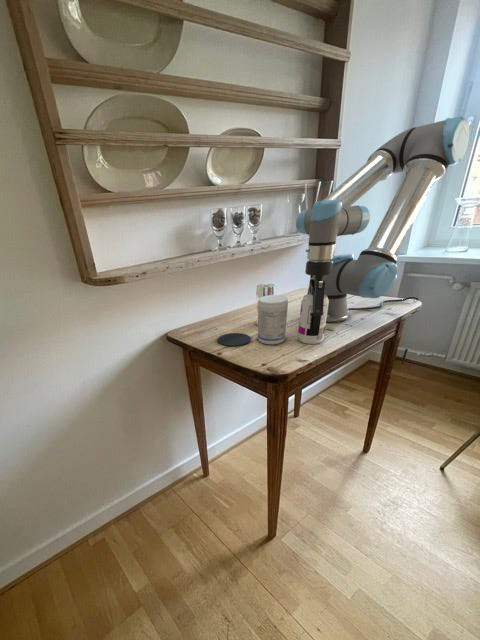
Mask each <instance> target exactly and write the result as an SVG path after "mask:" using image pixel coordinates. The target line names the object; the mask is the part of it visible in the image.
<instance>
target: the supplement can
mask: <svg viewBox="0 0 480 640" xmlns="http://www.w3.org/2000/svg"><path fill="white" fill-rule="evenodd" d="M328 304H329V300H328V297H327V295H325V294H324V305H323V315H321V321H320V328H319V335H309V331H310V323H311V316H310V313H313V296H312V295H311V294H304V296H303V298H302V299H301V301H300V311H299V322H298V331H297V339H298V341H299V342H301V343H303V344H307V345H316V344H320V343H321V342H323V341H324V338H325V332H326V331H325V330H326V326H327V325H326V324H327V322H326V318H327V311H328ZM317 311H319V310H317Z"/></svg>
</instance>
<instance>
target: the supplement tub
mask: <svg viewBox="0 0 480 640" xmlns="http://www.w3.org/2000/svg"><path fill="white" fill-rule="evenodd" d="M288 300H289V298H288V297H287V296H285V295H282V294H281V295H280V294H274V295H268V296H263V297H261V298H260V299H259V303H258V312H257V318H258V325H257V341H258V342H260V343H261V344H265V345H278V344H281V343H283V342H284V341H285V340H286V335H287V334H286V332H287V320H288V305H289V302H288Z"/></svg>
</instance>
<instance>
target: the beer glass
mask: <svg viewBox="0 0 480 640" xmlns="http://www.w3.org/2000/svg"><path fill="white" fill-rule="evenodd" d="M255 291H256V292H255V304H256V305H255V306H256V311H257V313H258V303H259V299H260V298H261V297H263V296H268V295H275V284H273V283H260V284H257V285H256V290H255ZM256 325H257V326H258V317H257V319H256Z"/></svg>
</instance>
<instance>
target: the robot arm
mask: <svg viewBox="0 0 480 640" xmlns="http://www.w3.org/2000/svg"><path fill="white" fill-rule="evenodd" d="M469 141H470V124H469V122H468V120H467V118H465V117H464V116H456V117H451V118H450V117H447V118H445V120H439V121H436V122H431V123H428V124H423V125H420V126H415V127H410V128H408V129H405V130H404V131H402V132H400V133H398V134H396V135H395V136H394V137H392V138H390V139H389V140H388V141H386V142H385V143H383V144H382V145H381V146H380V147H378V148H377V149H375V151H374V152H373V153H371V154H370V156H369V157H368V158H367V160H366V163H364V164H363V165H362V166H361V167H360V168H358V169H357V170H356V171H354V173H352V174H351V175H350V176H349V177H348V178H347V179H346V180H345V181H343V182H342V183H341V184H340V185H339V186H338V187H337V188H335V189H334V190H333V191H332V192H331V193H329V194H328V195H327V196H325V198H323V199H322V200H321V201H320V200H318V201H316V202H314V204H313V205H312V208H307V209H304V210H302V211H300V212H299V214H298V215H297V216H296V220H295V228H296V231H297V232H298V233H299V234H302V235H308V247H307V248H306V249H305V253H307V255H306V256H307V257H306V259H307V261H306V262H305V271H304V272H305V274H306V275H308V276H309V277H310V278H309V284H308V289H307V292H306V293H307V294H311V295H312V296H313V313H310V316H311V323H310V331H309V335H319V328H320V321H321V315H323V305H324V294H325V295H327V297H328V300H329V304H328V311H327V318H326V323H339V322H343V321H346V320H348V319H349V315H350V311H365V310H366V311H367V310H377V309H380V308H382V307H383V305H384V304H386V303H398V302H405V301H408V300H411V299H414V300H416V301H419V300H420V299H419V297H418V296H416V295H412V296H407V297H405V298H399V299H385V300H381V302H380V303H379V305H377V306H366V307H364V306H363V307H349V306H348V298H347V297H348V295H350V296H356V297H360V298H363V299H379V298H380V297H383V296H384V295H387V293H388V292H389V291H390V290H391V289H392V288H393V286H394V285H395V283H396V280H397V279H398V276H397V275H398V274H399V268H398V265H397V263H398V260H397V257H396V254H397V253H398V250H399V249H400V247H401V245H402V243H403V241H404V240H405V237H406V235H407V234H408V232H409V230H410V228H411V226H412V224H413V222H414V220H415V219H416V216H417V215H418V213H419V211H420V209H421V208H422V206H423V203H424V202H425V200H426V198H427V196H428V194H429V192H430V190H431V188H432V186H433V185H434V183H435V181H437V180H439V179H441V178H442V177H443V176H444V175H445V174H446V171H447V170H448V168H449V166H454V165H457V164H458V163H459V162H461V161H462V160H463V158H464V156H465V155H466V151H467V149H468V146H469ZM399 173H403V174H404V176H403V178H402V180H401V183H400V185H399V187H398V188H397V191H396V193H395V195H394V196H393V198H392V201H391V202H390V204H389V206H388V209H387V211H386V212H385V214H384V216H383V218H382V220H381V221H380V224H379V226H378V228H377V230H376V232H375V234H374V236H373V238H372V240H371V241H370V243H369V246H368V248H365V249H363V250H361V252H360V253H359V256H358V257H357V259H355V257H354V254H353V253H352V254H351V253H348V254H347V253H346V254H339V255H335V254H336V247H337V237H342V236H350V235H351V236H353V235H355V234H359V233H362V232H364V230H366V228H368V225H369V223H370V220H371V212H370V210H369V209H368V207H366V206H365V205H353V204H355V203H356V202H357V201H358V200H359V199H361V198H362V197H363V196H364V195H366V193H367V192H368V191H370V190H371V189H372V188H373V187H375V186H376V185H377V184H378V183H379V182H384V181H386V180H388V178H389V177H390V176H393V175H395V174H399ZM307 294H306V295H307ZM402 299H403V300H402ZM317 310H319V311H317ZM408 350H409V348H406V349H404V352H403V356H402V359H401V363H400V364H401V365H404V364H405V359H406V356H407V353H408Z"/></svg>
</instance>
